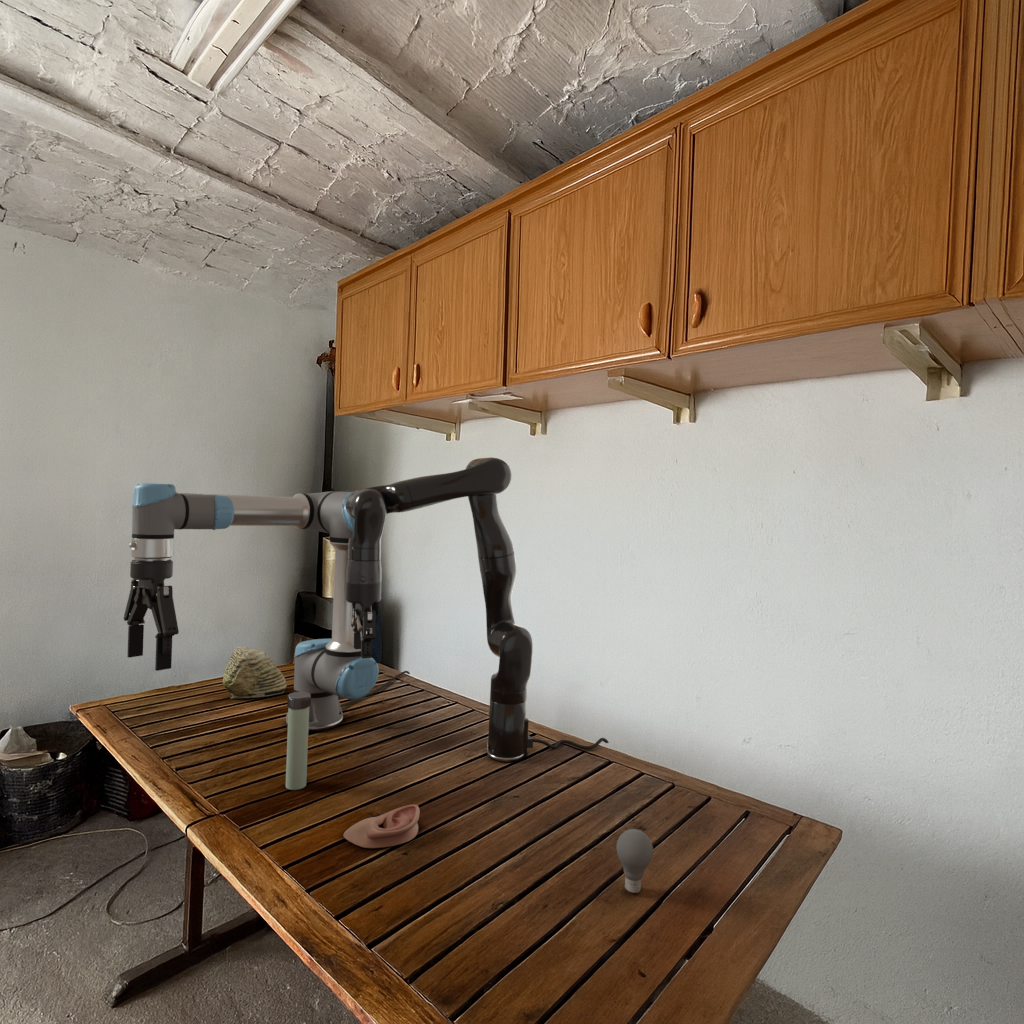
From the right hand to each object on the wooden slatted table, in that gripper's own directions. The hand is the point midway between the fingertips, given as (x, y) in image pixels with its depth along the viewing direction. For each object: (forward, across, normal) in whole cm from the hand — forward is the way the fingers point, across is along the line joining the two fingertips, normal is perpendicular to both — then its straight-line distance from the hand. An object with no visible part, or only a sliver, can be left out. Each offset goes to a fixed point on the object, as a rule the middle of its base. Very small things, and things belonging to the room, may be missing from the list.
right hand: (362, 653), depth 139 cm
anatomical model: (+29, -22, 0) cm, 37 cm away
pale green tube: (+29, +4, +13) cm, 32 cm away
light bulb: (+30, -54, -35) cm, 71 cm away
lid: (+10, +4, +13) cm, 16 cm away
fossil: (+29, +72, +19) cm, 80 cm away
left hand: (+1, +8, +42) cm, 42 cm away
